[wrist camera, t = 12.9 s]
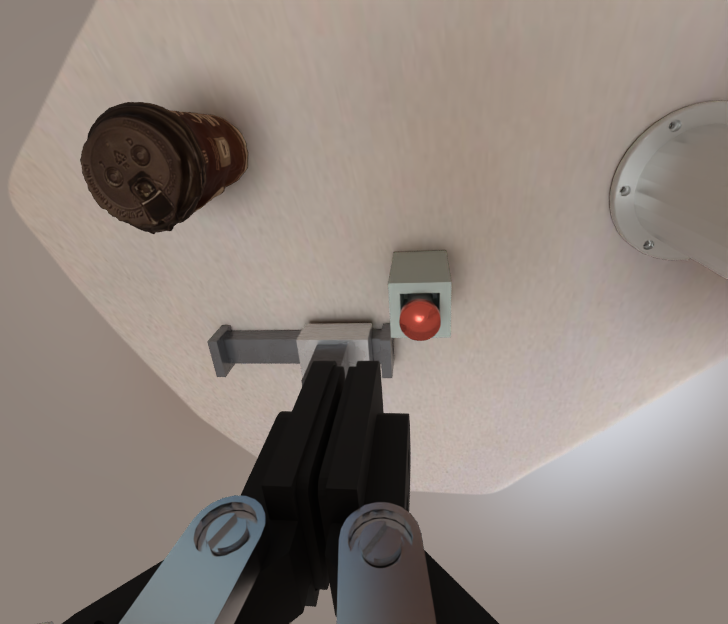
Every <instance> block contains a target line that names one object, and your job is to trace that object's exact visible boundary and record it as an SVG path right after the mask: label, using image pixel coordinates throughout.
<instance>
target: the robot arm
mask: <svg viewBox="0 0 728 624" xmlns="http://www.w3.org/2000/svg"><path fill="white" fill-rule="evenodd" d="M671 122H672V127H671V128H670V129H669V125H670V123H671ZM622 187H624V189H623V190H622V191H621V192H619V191H620V189H621V188H622ZM610 211H611V216H612V220H613V222H614V224H615V227H616V229H617V231H618V232H619V234H620V235H621V236H622V237H623V239H624V240H625V241H626V242H628V243H629V244H630V245H631V246H633V247H634V248H635V249H637V250H638V251H640V252H642V253H644V254H646V255H649V256H652V257H655V258H658V259H665V260H688V259H693V260H695V261H696V262H698V263H700V264H701V265H703V266H705V267H707V268H708V269H710V270H712V271H713V272H715V273H717V274H718V275H720V276H722V277H724V278H725V279H727V280H728V101H710V102H702V103H698V104H694V105H690V106H687V107H684V108H682V109H680V110H678V111H675V112H673V113H671V114H669V115H667V116H666V117H664V118H663V119H661V120H659V121H658V122H656V123H655V124H653V125H652V126H651V127H650V128H649V129H647V130H646V131H645V132H644V133H643V134H642V135H641V136H640V137H639V138H638V139H637V140H636V141H635V142H634V143H633V145H632V146H631V147H630V148H629V149H628V151H627V152H626V154H625V156H624V157H623V159H622V160H621V162H620V164H619V166H618V168H617V171H616V173H615V175H614V178H613V182H612V186H611V191H610ZM646 241H647V242H646ZM645 242H646V244H644V243H645ZM409 499H410V421H409V414H400V413H383V399H382V385H381V370H380V362H379V361H357V363H356V366H350V367H349V368H348V372H347V375H346V378H345V370H344V367H343V366H337V363H336V361H313V363H312V365H311V367H310V369H309V372H308V374H307V377H306V379H305V381H304V384H303V386H302V389H301V391H300V393H299V396H298V398H297V401H296V403H295V405H294V408H293V410H292V412H290V411H281V412H280V413H279V414H278V416H277V417H276V419H275V421H274V424H273V426H272V428H271V430H270V432H269V435H268V437H267V439H266V441H265V443H264V445H263V448H262V450H261V452H260V454H259V456H258V459H257V461H256V463H255V465H254V467H253V469H252V472H251V474H250V476H249V478H248V480H247V483H246V485H245V487H244V489H243V491H242V494H241V496H236V495H235V496H230V497H225V498H222V499H220V500H217V501H215V502H213V503H211V504H210V505H208V506H207V507H206V508H205V509H203V510H202V511H201V512H200V513H199V514H198V515H197V516H196V517H195V518H194V519H193V520H192V522H191V523H190V525H189V526H188V527H187V529H186V530H185V532H184V533H183V534H182V536H181V537H180V539H179V540H178V541H177V543H176V544H175V546H174V547H173V548H172V550H171V551H170V553H169V554H168V555H167V557H166V558H165V559H164V560H163V561H161V562H159V563H158V564H157V565H155V566H153V567H151V568H150V569H148V570H146V571H145V572H143V573H141V574H140V575H138V576H137V577H135V578H133V579H132V580H130V581H128V582H127V583H125V584H123V585H122V586H120V587H119V588H117V589H116V590H114V591H112V592H110V593H109V594H107V595H105V596H104V597H102V598H100V599H99V600H97V601H95V602H94V603H92V604H91V605H89V606H87V607H86V608H84V609H82V610H81V611H79V612H77V613H76V614H74V615H73V616H72V617H70V618H69V619H68V620H66V621H65V622H63V623H62V624H291V622H292V621H293V620H294V619H296V618H297V617H298V616H299V615H301V614H302V613H303V611H304V607H305V606H314V607H315V606H316V604H317V600H318V595H319V590H320V589H322V590H327V589H328V586H329V582H330V588H331V594H332V599H333V605H334V610H335V615H336V617H337V624H499V623H498V622H497V621H496V620H495V619H494V618H493V617H492V616H491V615H490V614H489V613H488V612H487V611H486V610H485V609H484V608H483V607H482V606H481V605H480V604H479V603H477V602H476V600H475V599H473V597H471V596H470V595H469V594H468V593H467V592H466V591H465V590H464V589H463V588H462V587H461V586H460V585H459V584H458V583H457V582H456V581H455V580H454V579H453V578H452V577H451V576H450V575H449V574H448V573H447V572H446V571H445V570H444V569H443V568H442V567H441V566H440V565H439V564H438V563H437V562H436V561H435V560H434V559H433V558H432V557H431V556H430V555H429V554H428V553H427V552H426V551H425V550H424V546H423V540H422V534H421V531H420V528H419V525H418V522H417V521H416V520H415V518H414V517H413V516H412V515H411V513H409ZM39 624H53V622H52V621H51V622H45V623H39Z"/></svg>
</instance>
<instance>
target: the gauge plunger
mask: <svg viewBox="0 0 728 624" xmlns="http://www.w3.org/2000/svg"><path fill="white" fill-rule="evenodd" d="M399 325H400V328H401V330H402V332H403V333H404V334H405V335H406V336H407V337H408V338H410V339H413V340H417V341H423V340H428V339H430V338H432V337H433V336H435V335H436V334H437V332H438V331H439V329H440V326H441V318H440V312H439V309H438V308H437V306H436V305H435V304H434V303H433V293H408V297H407V303H406V304H405V305H404V306H403V308H402V310H401V312H400V320H399Z"/></svg>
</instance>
